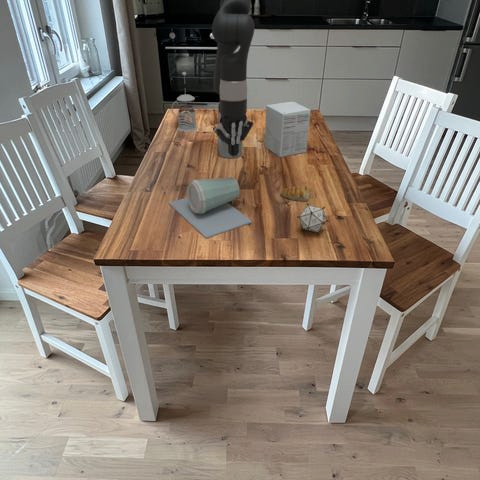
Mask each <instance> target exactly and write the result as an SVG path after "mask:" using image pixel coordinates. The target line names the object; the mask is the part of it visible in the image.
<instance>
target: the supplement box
mask: <svg viewBox="0 0 480 480" xmlns="http://www.w3.org/2000/svg"><path fill="white" fill-rule="evenodd" d="M311 112H312V110H311V109H310V108H307V107H305V106H304V105H301V104H299V103H297V102H295V101H288V102H287V101H285V102H279V103H278V102H277V103H272V104H267V105H265V130H264V131H265V132H264V147H265V148H266V149H268V150H270V152H272V153H274V154H275V155H276V156H278V157H279V158H283V157H288V156H294V155H299V154H303V153H307V148H308V140H309V139H308V138H309V133H310V132H309V131H310V120H311Z"/></svg>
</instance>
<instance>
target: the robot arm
mask: <svg viewBox="0 0 480 480" xmlns="http://www.w3.org/2000/svg"><path fill="white" fill-rule="evenodd" d="M251 1H252V0H220V3H219V10H218V11H217V13H216V14H215V17H214V19H213V22H212V27H211V32H212V33H211V34H212V37H213V39H214V42H216V43H217V44H216V45H217V47H216V48H217V49H216V54H215V55H216V57H215V62H214V63H215V64H214V71H213V83H212V84H213V90H214V91H215V93H216V94H218V95H219V104H218V106H217V107H218V108H217V109H218V110H217V111H218V113H217V115H218V125H217V126H214V127H212V131H213V132H214V133H215V135H217V147H218V148H217V149H218V154H219V156H220V157H223V158H224V159H226V158H227V159H236V158H239V157H241V156H242V153H243V152H242V151H243V141H245V140H246V137H247V136H248V134H249V132H251V130H252V128H253V126H254V122H253V121H250V120H249V119H248V116H247V112H248V111H247V110H248V82H247V69H248V67H247V66H248V57H249V52H250V47H251V46H252V45H251V44H252V41H253V38H254V33H255V22H254V19H253V18H252V16H251V15H249V14H250V10H251V3H252V2H251ZM238 48H239V49H238ZM237 49H238V50H237Z"/></svg>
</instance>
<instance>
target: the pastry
mask: <svg viewBox="0 0 480 480" xmlns="http://www.w3.org/2000/svg"><path fill="white" fill-rule="evenodd" d="M280 194H281V196H282V197H283V198H285V199H288V200H292V201H297V202H298V201H299V202H308V201H309V197H310V187H309V186H308V185H307V186H303V185H295V186H289V187H286V188H285V187H284V188H283V189H282V190H281V191H280Z"/></svg>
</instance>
